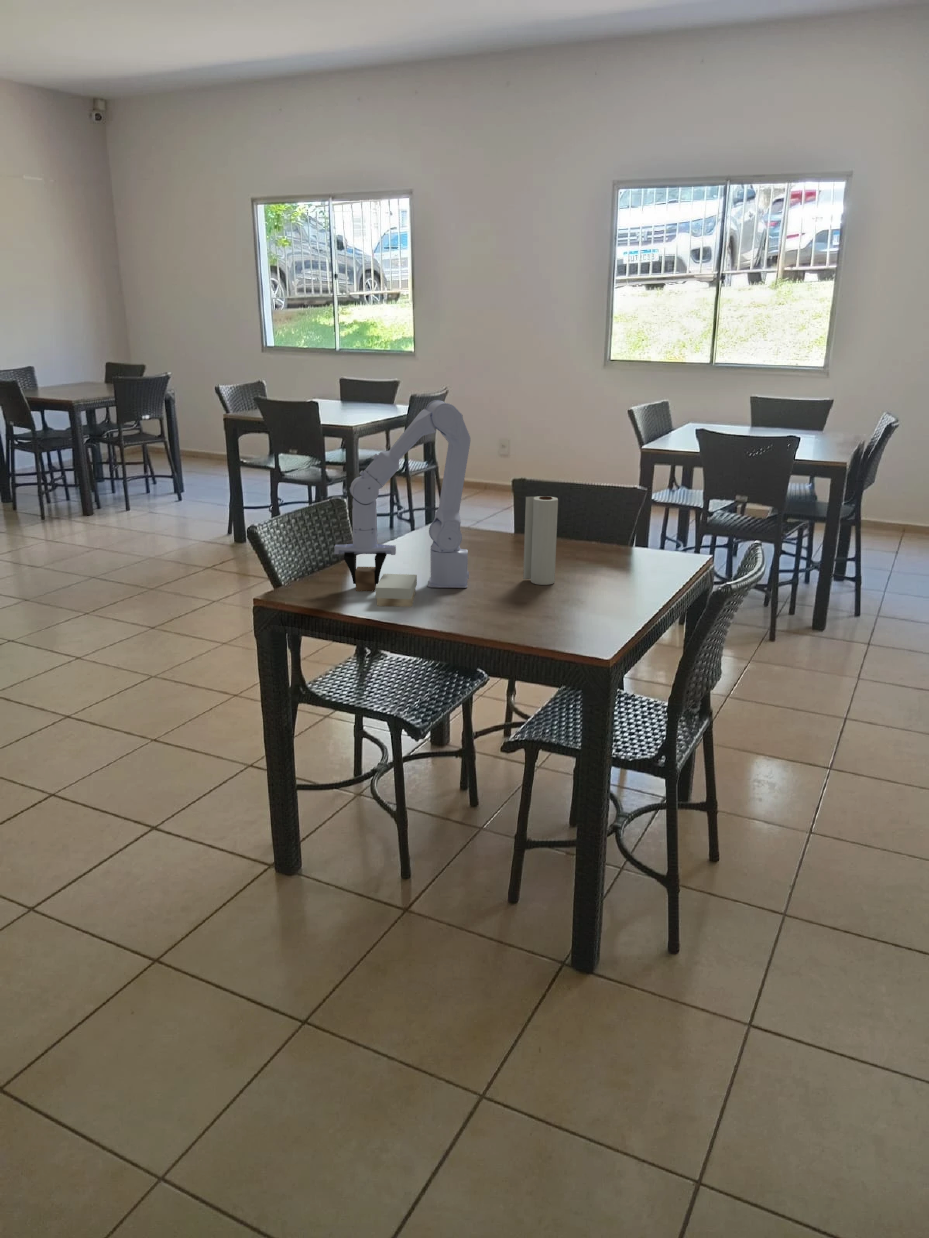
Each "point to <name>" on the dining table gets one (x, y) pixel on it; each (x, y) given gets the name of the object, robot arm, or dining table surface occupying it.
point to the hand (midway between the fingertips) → (366, 583)
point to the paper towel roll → (540, 539)
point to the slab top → (396, 586)
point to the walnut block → (365, 579)
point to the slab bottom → (395, 601)
